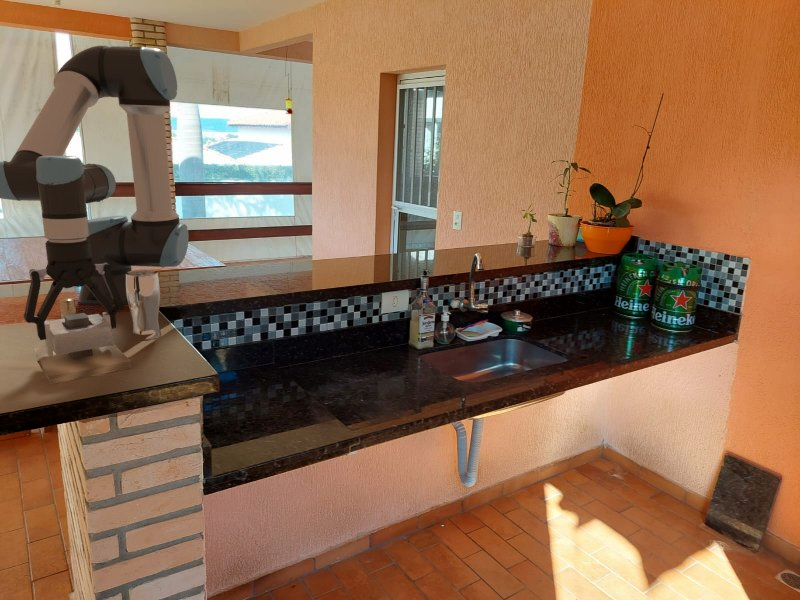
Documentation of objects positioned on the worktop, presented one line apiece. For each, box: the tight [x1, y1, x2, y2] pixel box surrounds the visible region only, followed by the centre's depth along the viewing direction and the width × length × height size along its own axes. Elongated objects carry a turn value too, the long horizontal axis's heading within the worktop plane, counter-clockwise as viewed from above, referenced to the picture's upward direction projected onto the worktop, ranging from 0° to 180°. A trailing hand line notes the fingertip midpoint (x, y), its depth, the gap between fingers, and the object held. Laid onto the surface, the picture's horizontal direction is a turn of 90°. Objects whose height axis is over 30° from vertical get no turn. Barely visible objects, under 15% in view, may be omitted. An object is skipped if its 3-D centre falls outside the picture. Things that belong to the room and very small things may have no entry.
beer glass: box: [126, 269, 162, 342], centre depth 133 cm, size 7×7×15 cm
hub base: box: [32, 312, 132, 385], centre depth 117 cm, size 14×18×10 cm
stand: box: [58, 297, 77, 319], centre depth 134 cm, size 7×7×8 cm
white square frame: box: [47, 313, 114, 355], centre depth 117 cm, size 10×10×4 cm
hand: (80, 349), depth 118 cm, fingers closed on white square frame, 10 cm apart
